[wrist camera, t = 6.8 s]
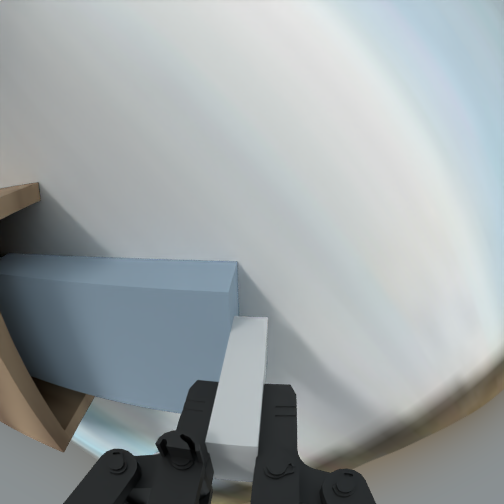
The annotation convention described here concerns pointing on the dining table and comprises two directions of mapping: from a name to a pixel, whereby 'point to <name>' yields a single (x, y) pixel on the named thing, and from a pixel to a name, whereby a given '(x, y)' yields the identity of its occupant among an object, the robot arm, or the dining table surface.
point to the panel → (120, 323)
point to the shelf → (18, 378)
